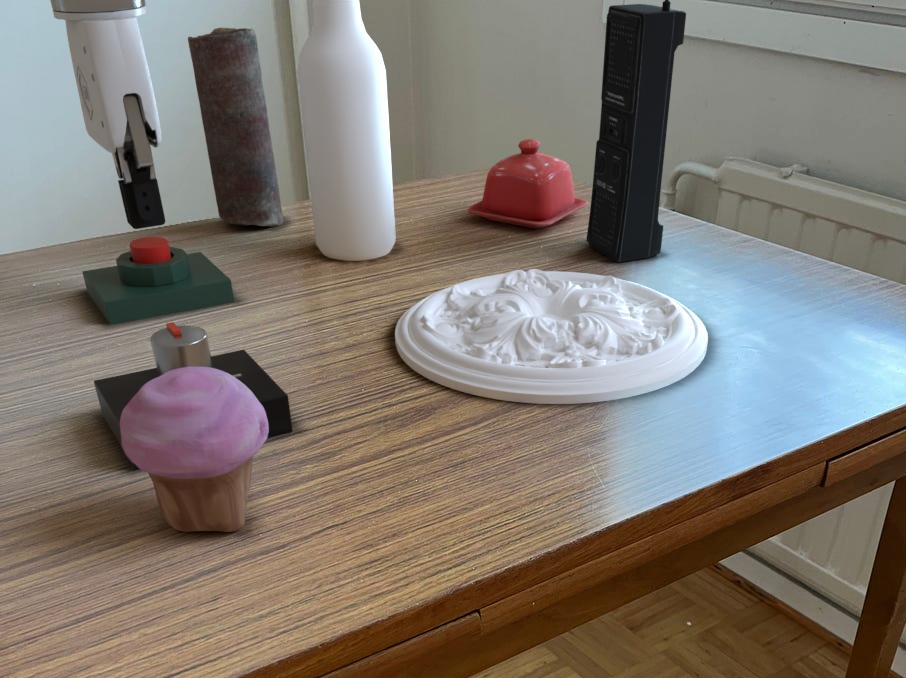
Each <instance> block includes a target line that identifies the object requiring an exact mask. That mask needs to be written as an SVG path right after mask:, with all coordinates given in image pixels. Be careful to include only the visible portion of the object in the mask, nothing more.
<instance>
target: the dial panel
mask: <svg viewBox="0 0 906 678" xmlns="http://www.w3.org/2000/svg"><path fill="white" fill-rule="evenodd" d="M211 359H212V365H213V368H214V369H218V370H221V371H224V372H226V373H228V374H230V375H232V376H234V377H235V378H237V379H238V380H239V381H241V382H242V383H243V384H244V385H246V386H247V387H248V388H249V389H250V390H251V391H252V393H253V394H254V395H255V397H256V398H257V399H258V401H259V402H260V403H261V405H262V406H263V407H264V410H265V412H266V416H267V419H268V426H269V432H268V437H267V439H268V438H272V437H277V436H281V435H284V434H288V433H293V432H294V430H293V424H292V423H293V422H292V416H291V408H290V403H289V402H290V401H289V395H288V394H287V393H286V392H285V391H284V390H283V389H282V388H281V387H280V385H278V383H276V381H275V380H274V379H273V378H272V377H271V376H270V375H269V374H268V373H267V372H266V371H265V370H264V369H263V368H262V367H261V366H260V365H259V364H258V363H257V361H255V359H254V358H253V357H252V356H251V355H250V354H249V353H248V352H247V351H246V350H245V349H240V350H235V351H231V352H225V353H221V354H216V355H211ZM157 377H159V376H158V372H157V367H154V368H148V369H144V370H139V371H134V372H129V373H123V374H120V375H115V376H110V377H109V376H108V377H105V378H99V379H95V380H93V384H94V388H95V392H96V395H97V400H98V403H99V406H100V410H101V411H100V412H101V414H102V417H103V418H104V420H105V422H106V424H107V426H108V427H109V429H110V430H111V431H110V432H112V434H113V436H114V437H115V439H116V441H117V442H118V444H119V446H120V447H121V449H122V451H123V453H124V454H125V451H124V449H123V447H122V442H121V431H120V418H121V414H122V411H123V409H124V408H125V407H126V405H127V404H128V403H129V402H130V401H131V399H132V398H133V397H134V396H135V395H136V394H137V393H138V392H139V390H140V389H141V388H142V386H143V385H145V384H146V383H147V382H149V381H151V380H152V379H155V378H157ZM125 456H126V458H127V460H128V461H129V463H130V465H131V466H132V468H133V470H134V471H137V470H140V469H139V468H138V467H137V466H136V465H135V464H134V463H133V462H132V461H131V460H130V459H129V458H128V457H127V455H126V454H125Z"/></svg>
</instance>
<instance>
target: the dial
mask: <svg viewBox="0 0 906 678" xmlns="http://www.w3.org/2000/svg"><path fill="white" fill-rule="evenodd" d="M165 326H166V327H165V328H162V329H159V330H157V331H155V332H153V333H152V334H151V336H150V339H149V340H150V344H151V349H152V353H153V358H154V362H155V368H157V372H158V376H161V375H163V374H165V373H166V372H169V371H171V370H174V369H179V368H184V367H210V368H213V365H212V359H211V356H212V355H211V349H210V344H209V339H208V334H207V331H206V330H205V329H204V328H202V327H200V326H195V325H185V324H184V325H177V324H176V323H175V322H174V321H172V322H167V323H165Z"/></svg>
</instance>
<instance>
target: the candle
mask: <svg viewBox="0 0 906 678" xmlns="http://www.w3.org/2000/svg"><path fill="white" fill-rule="evenodd" d="M187 44H188V48H189V52H190V58H191V62H192V68H193V74H194V80H195V86H196V91H197V98H198V103H199V109H200V113H201V114H200V115H201V121H202V126H203V133H204V137H205V145H206V150H207V155H208V156H207V157H208V160H209V161H208V162H209V167H210V171H211V172H210V174H211V178H212V179H211V180H212V185H213V190H214V195H215V202H216V206H217V212H218V217H219V218H220V219H221V220H223V221H224V222H225V223H228V224H232V225H236V226H250V225H251V226H259V227H274V228H275V227H279V226H282V224H283V223H284V216H283V209H282V202H281V194H280V186H279V182H278V175H277V168H276V163H275V155H274V149H273V143H272V137H271V132H270V123H269V116H268V109H267V102H266V95H265V89H264V84H263V76H262V69H261V61H260V55H259V46H258V39H257V34H256V31H255V29H254V28H247V27H246V28H245V27H244V28H235V27H217V28H214V29H213V30H212V31H211V32H210V33H205V34H203V35H197V36H194V37H192V36H188V37H187Z"/></svg>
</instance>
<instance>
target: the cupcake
mask: <svg viewBox="0 0 906 678" xmlns="http://www.w3.org/2000/svg"><path fill="white" fill-rule="evenodd" d="M120 431H121V442H122V447H123V449H124V451H125V453H124V454H125V456H126V455H127V456H126V458H127V457H128V458H129V459H130V460H131V461H132V462H133V463H134V464H135V465H136V466H137V467H138V468H139V469H138V470H141V471H143V472H146V473H148V475H149V477H150V480H151V482H152V484H153V488H154V491H155V497H156V499H157V503H158V506H159V509H160V511H161V515H162V517H163V519H164V521H165V522H166V523H167V524H168V525H169V526H170V527H171V528H173V529H174V530H177V531H180V532H222V533H223V532H224V533H230V532H232V533H233V532H236V531H239V530H241V529H242V528H243V527H244V525H245V523H246V511H247V504H248V497H249V492H250V489H251V483H252V475H253V474H252V473H253V461H254V460H253V459H254V456H255V455H256V454H257V453H258V452H259V450H261V448H262V447H263V445H264V444H265V442H266V441H267V439H268V438H267V437H268V432H269V426H268V419H267V416H266V412H265V410H264V407H263V406H262V405H261V403H260V402H259V401H258V399H257V398H256V397H255V395H254V394H253V393H252V391H251V390H250V389H249V388H248V387H247V386H246V385H244V384H243V383H242V382H241V381H239V380H238V379H237V378H235V377H234V376H232V375H230V374H228V373H226V372H224V371H221V370H218V369H214V368H210V367H184V368H179V369H174V370H171V371H169V372H166V373H165V374H163V375H161V376H159V377H157V378H155V379H152V380H151V381H149V382H147V383H146V384H145V385H143V386H142V388H141V389H140V390H139V392H138V393H137V394H136V395H135V396H134V397H133V398H132V399H131V401H130V402H129V403H128V404H127V405H126V407H125V408H124V409H123V411H122V414H121V418H120ZM123 449H122V450H123ZM124 451H123V452H124ZM128 458H127V459H128ZM129 459H128V460H129Z"/></svg>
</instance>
